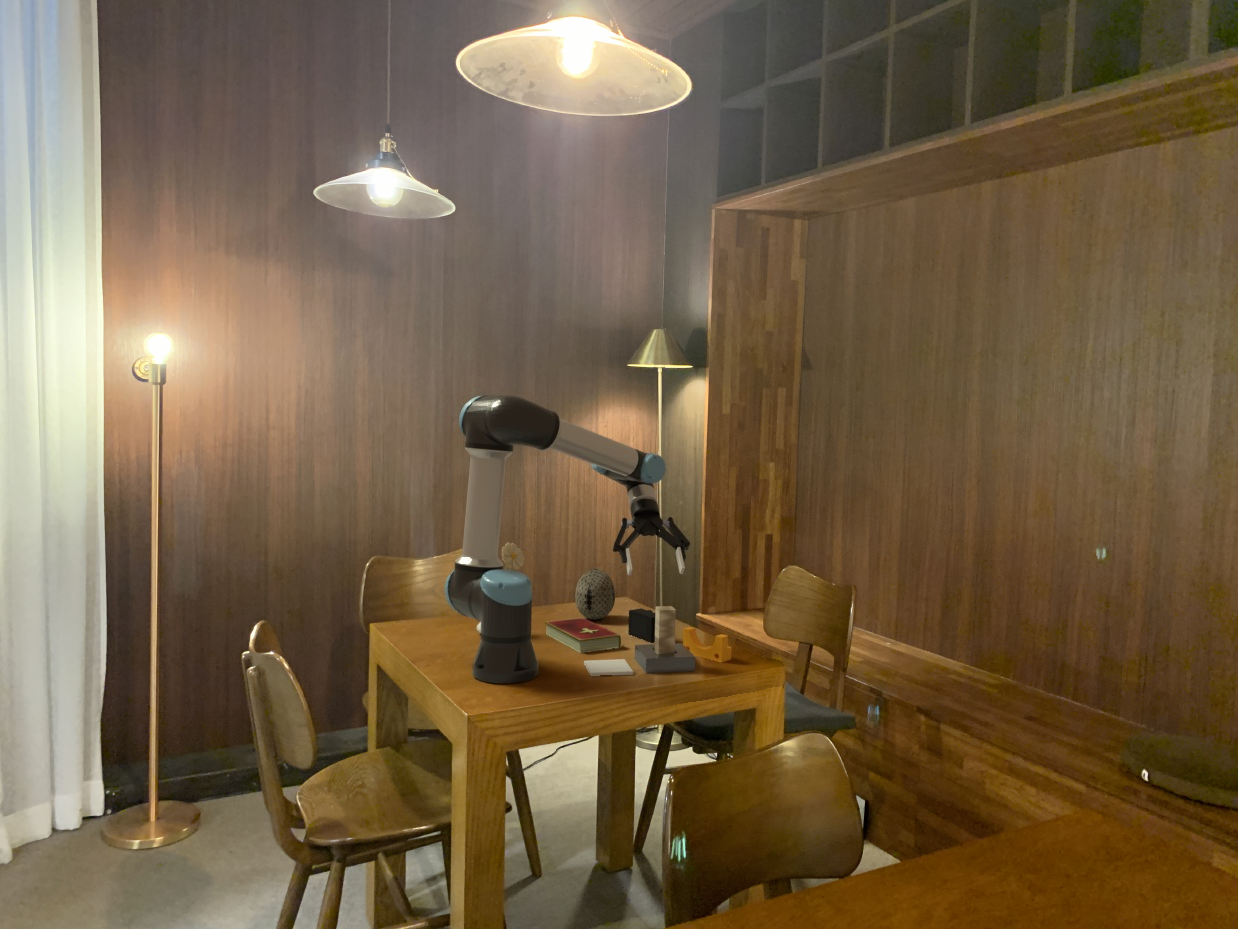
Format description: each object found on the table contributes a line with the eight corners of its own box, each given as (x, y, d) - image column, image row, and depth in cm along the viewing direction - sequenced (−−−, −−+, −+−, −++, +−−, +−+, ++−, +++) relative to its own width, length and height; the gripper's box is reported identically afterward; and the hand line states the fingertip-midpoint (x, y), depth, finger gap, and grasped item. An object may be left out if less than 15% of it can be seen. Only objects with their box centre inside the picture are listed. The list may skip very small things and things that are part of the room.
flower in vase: (486, 641, 236) (487, 547, 234) (469, 631, 245) (470, 541, 243) (531, 635, 242) (532, 544, 241) (513, 626, 252) (514, 538, 250)
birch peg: (658, 667, 215) (659, 610, 215) (654, 662, 219) (655, 606, 218) (674, 667, 216) (675, 609, 215) (670, 662, 220) (671, 606, 219)
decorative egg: (619, 616, 266) (620, 566, 265) (607, 626, 255) (608, 573, 254) (582, 613, 269) (583, 564, 268) (568, 622, 258) (569, 570, 257)
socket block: (645, 673, 211) (646, 658, 211) (634, 658, 222) (635, 644, 222) (694, 671, 213) (695, 656, 213) (681, 657, 225) (681, 643, 225)
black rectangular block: (667, 640, 241) (668, 615, 240) (651, 643, 237) (651, 617, 237) (644, 632, 249) (644, 607, 248) (628, 634, 246) (628, 609, 245)
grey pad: (590, 676, 207) (591, 673, 207) (584, 663, 217) (584, 660, 217) (633, 674, 209) (633, 671, 209) (624, 662, 219) (624, 659, 219)
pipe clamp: (731, 659, 224) (732, 634, 224) (721, 663, 221) (722, 637, 220) (692, 650, 232) (693, 625, 232) (682, 653, 229) (683, 628, 228)
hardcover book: (583, 631, 250) (583, 616, 250) (621, 649, 232) (621, 633, 232) (544, 636, 244) (544, 620, 244) (579, 655, 226) (580, 639, 226)
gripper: (685, 513, 246) (700, 578, 232) (596, 515, 241) (606, 581, 227) (691, 496, 240) (706, 562, 227) (599, 497, 235) (610, 564, 222)
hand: (656, 572), depth 227 cm, fingers open, 13 cm apart
